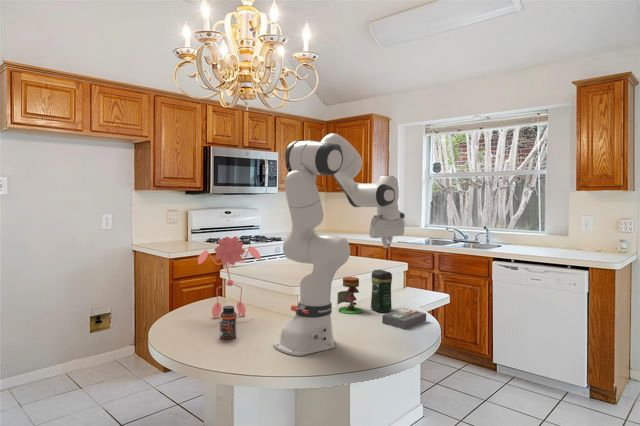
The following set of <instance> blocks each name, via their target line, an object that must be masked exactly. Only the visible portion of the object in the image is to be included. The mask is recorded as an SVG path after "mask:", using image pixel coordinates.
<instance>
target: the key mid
mask: <svg viewBox="0 0 640 426" xmlns="http://www.w3.org/2000/svg"><path fill="white" fill-rule="evenodd" d="M401 309H402V310H400V309H398V310H399V315H403V316H410V315H411V311H410V310H411V309H409V310H406V309H407V308H405V309H403V308H401Z"/></svg>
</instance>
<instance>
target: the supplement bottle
mask: <svg viewBox="0 0 640 426" xmlns="http://www.w3.org/2000/svg"><path fill="white" fill-rule="evenodd" d="M237 315H238V313H237V312H236V311H235V306H234V305H224V306H222V312H220V314H219V316H220V317H219V319H220V321H219V323H220V324H219V337H220V338H221V339H223V340H232V339H235V338H236V337H237V324H238V322H237V321H238V320H237V319H238V318H237V317H238V316H237Z"/></svg>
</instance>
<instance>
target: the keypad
mask: <svg viewBox="0 0 640 426" xmlns="http://www.w3.org/2000/svg"><path fill="white" fill-rule="evenodd" d="M402 309H406V310H410V309H409V308H404V307H403V308H401V309H397V310H395V311H390V312H387V313H385V314H382V318H381V319H382V321H381V323H382V324H384V325H387V326H391V327H395V328H398V329H402V330H408V329H410V328H412V327H415V326H417V325H420V323H421V324H423V323H426V322H427V313H425V312H422V311H417V310H416V311H417V313H416V314H411V315H410V316H404V318H401V319H398V318H394V317H392V315H396V314H398V315H399V310H402ZM412 310H413V309H412ZM413 311H415V310H413ZM402 316H403V315H402ZM425 321H426V322H425Z"/></svg>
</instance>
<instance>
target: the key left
mask: <svg viewBox="0 0 640 426" xmlns="http://www.w3.org/2000/svg"><path fill="white" fill-rule="evenodd" d="M392 317H394V318H398V319H401V318H404V316H402V315H398V314H396V315H392Z"/></svg>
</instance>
